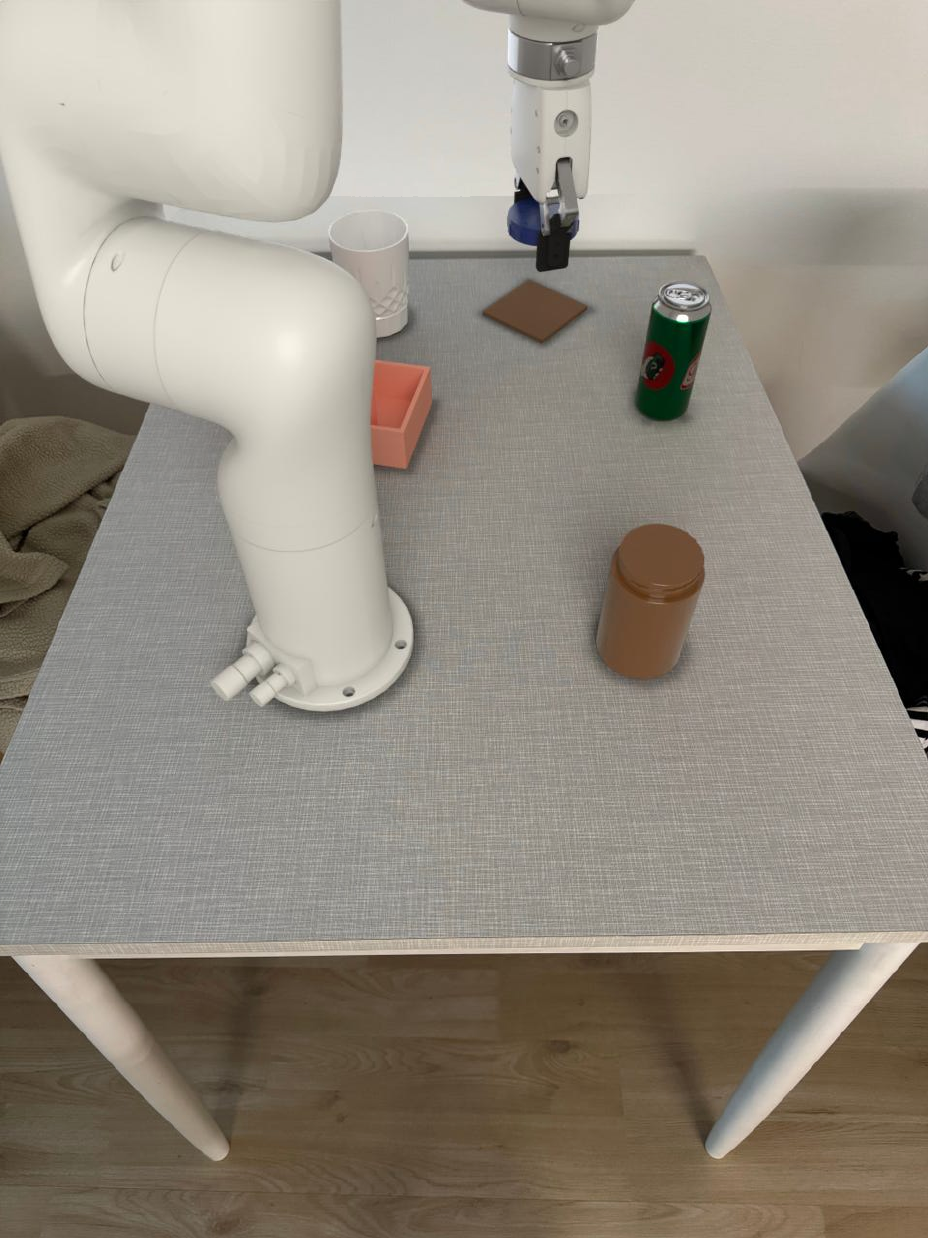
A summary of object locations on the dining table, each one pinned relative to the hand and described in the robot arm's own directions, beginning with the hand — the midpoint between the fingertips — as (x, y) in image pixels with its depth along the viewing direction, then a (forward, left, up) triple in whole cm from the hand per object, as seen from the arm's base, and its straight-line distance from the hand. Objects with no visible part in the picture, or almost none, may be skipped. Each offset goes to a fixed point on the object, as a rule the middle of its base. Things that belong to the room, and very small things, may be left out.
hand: (539, 246), depth 88 cm
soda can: (-5, -19, -7) cm, 21 cm away
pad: (0, 0, -7) cm, 7 cm away
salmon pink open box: (-27, +4, -7) cm, 28 cm away
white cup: (-12, +12, -7) cm, 19 cm away
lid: (0, 0, +3) cm, 3 cm away
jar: (-30, -33, -7) cm, 45 cm away
